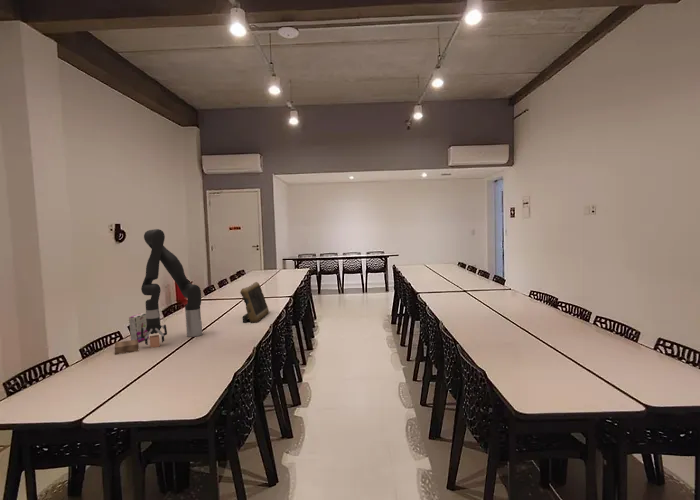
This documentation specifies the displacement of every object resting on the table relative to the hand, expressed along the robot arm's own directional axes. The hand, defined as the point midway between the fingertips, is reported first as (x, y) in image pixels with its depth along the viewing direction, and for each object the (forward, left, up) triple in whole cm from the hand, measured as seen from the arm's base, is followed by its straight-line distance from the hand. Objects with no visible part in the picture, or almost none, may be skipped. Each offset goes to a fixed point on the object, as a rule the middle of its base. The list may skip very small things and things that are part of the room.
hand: (154, 343), depth 268 cm
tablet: (-71, -39, -2) cm, 81 cm away
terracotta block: (0, 0, -2) cm, 2 cm away
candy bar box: (+8, -19, -2) cm, 21 cm away
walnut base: (+15, 0, -2) cm, 15 cm away
